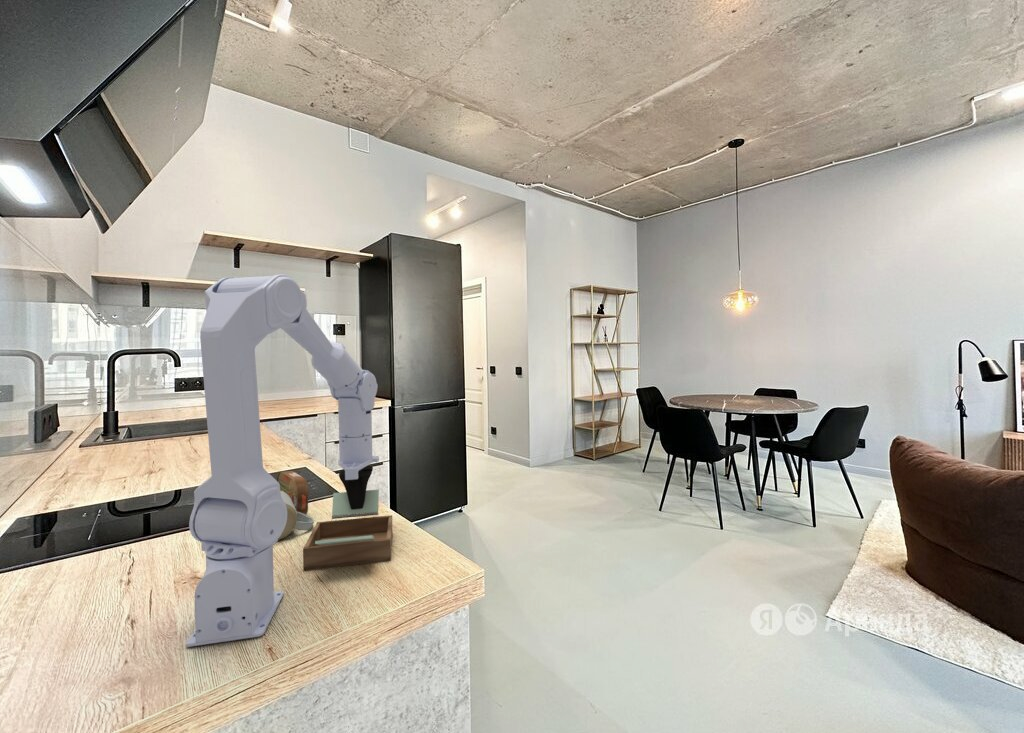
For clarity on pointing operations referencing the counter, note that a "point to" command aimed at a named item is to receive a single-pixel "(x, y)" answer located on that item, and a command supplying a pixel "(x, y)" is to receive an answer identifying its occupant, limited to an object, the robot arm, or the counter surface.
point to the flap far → (343, 509)
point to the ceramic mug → (294, 518)
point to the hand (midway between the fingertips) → (357, 508)
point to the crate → (349, 543)
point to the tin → (295, 489)
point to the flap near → (344, 540)
